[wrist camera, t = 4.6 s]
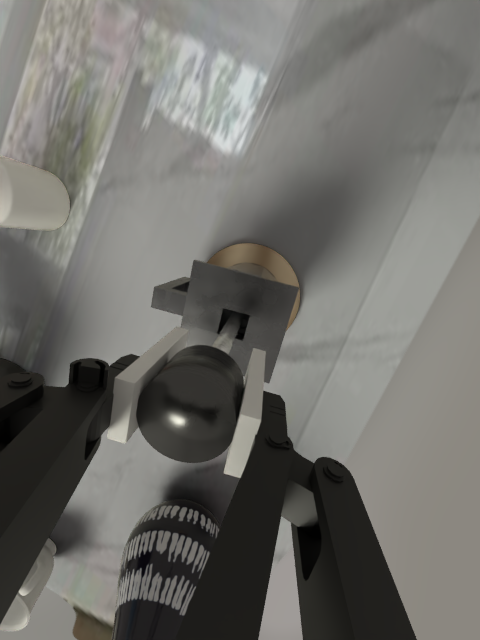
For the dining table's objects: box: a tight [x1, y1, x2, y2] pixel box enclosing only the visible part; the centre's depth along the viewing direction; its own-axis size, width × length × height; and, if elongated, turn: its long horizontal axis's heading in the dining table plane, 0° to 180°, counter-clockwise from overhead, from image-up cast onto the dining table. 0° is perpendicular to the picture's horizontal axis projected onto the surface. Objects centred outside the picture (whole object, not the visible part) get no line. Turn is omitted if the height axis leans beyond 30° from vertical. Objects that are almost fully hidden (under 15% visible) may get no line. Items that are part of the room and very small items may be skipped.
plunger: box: [136, 308, 250, 463], centre depth 20 cm, size 7×7×19 cm
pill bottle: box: [0, 155, 70, 231], centre depth 31 cm, size 8×8×11 cm
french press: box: [151, 260, 299, 383], centre depth 30 cm, size 13×9×13 cm
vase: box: [112, 499, 220, 640], centre depth 34 cm, size 16×16×30 cm
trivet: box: [207, 243, 300, 330], centre depth 36 cm, size 14×14×1 cm
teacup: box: [0, 538, 56, 632], centre depth 50 cm, size 12×15×10 cm
